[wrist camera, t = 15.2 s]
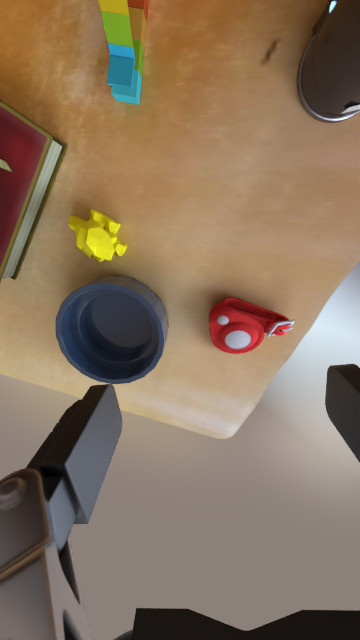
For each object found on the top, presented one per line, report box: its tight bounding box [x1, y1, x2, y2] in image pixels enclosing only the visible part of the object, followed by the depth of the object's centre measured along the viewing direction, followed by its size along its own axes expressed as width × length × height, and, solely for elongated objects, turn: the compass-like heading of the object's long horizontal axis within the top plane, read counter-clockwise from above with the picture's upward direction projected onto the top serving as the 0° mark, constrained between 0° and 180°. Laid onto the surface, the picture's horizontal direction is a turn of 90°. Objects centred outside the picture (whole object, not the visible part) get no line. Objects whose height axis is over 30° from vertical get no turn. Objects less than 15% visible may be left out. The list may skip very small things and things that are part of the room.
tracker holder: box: [209, 297, 295, 354], centre depth 39 cm, size 12×4×10 cm
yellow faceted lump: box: [68, 209, 128, 262], centre depth 33 cm, size 6×8×8 cm
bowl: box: [56, 275, 169, 384], centre depth 39 cm, size 16×16×6 cm
